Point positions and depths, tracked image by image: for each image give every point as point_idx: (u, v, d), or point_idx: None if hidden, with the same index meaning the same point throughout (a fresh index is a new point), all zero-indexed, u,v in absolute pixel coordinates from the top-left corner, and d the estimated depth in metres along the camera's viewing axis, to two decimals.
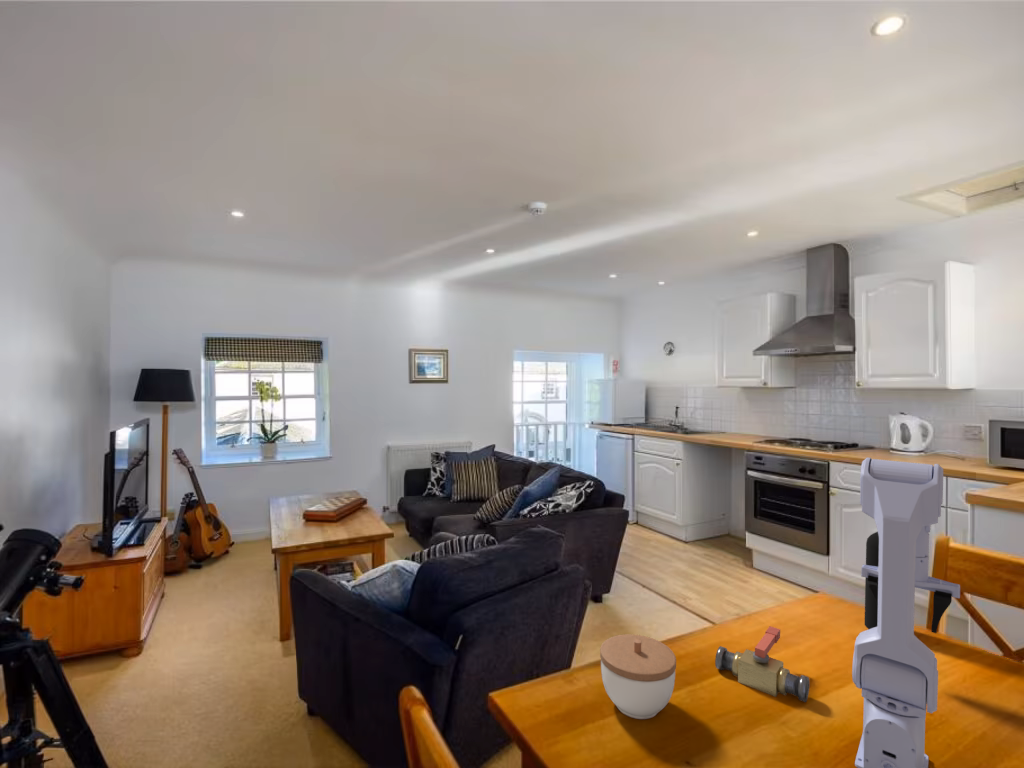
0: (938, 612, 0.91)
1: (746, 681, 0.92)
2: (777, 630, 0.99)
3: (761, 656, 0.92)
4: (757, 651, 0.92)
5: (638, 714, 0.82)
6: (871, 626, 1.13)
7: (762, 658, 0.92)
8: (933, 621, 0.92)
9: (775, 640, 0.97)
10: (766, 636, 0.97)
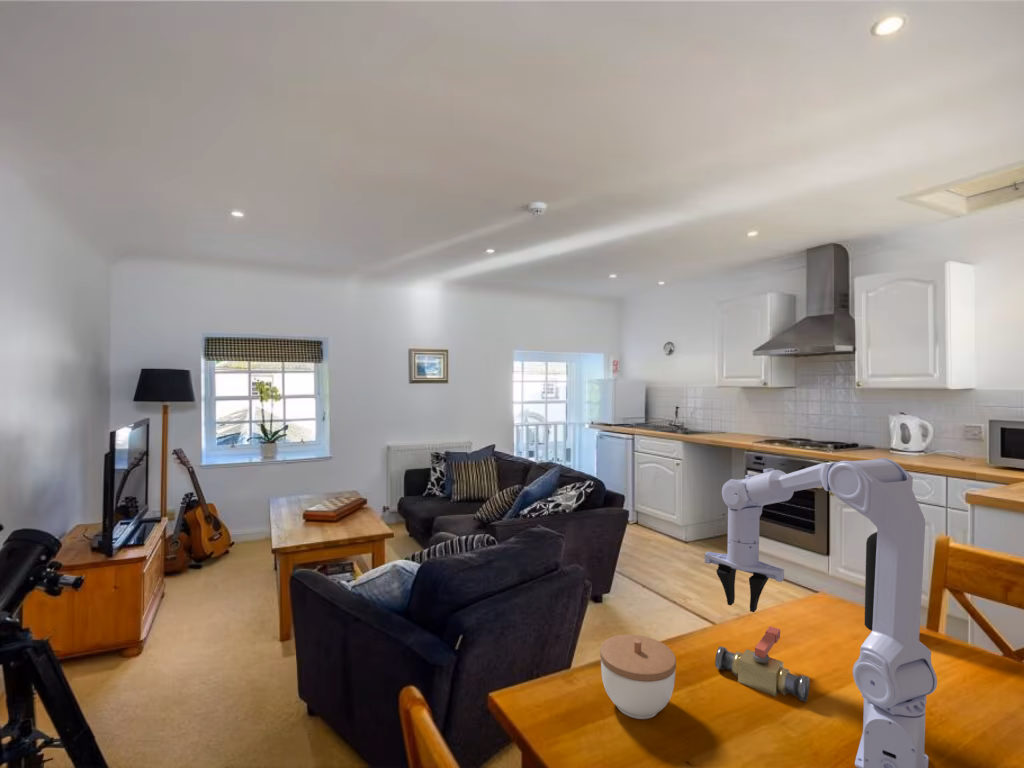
0: (754, 592, 0.98)
1: (746, 681, 0.92)
2: (777, 630, 0.99)
3: (761, 656, 0.92)
4: (757, 651, 0.92)
5: (638, 714, 0.82)
6: (871, 626, 1.13)
7: (762, 658, 0.92)
8: (750, 601, 0.98)
9: (775, 640, 0.97)
10: (766, 636, 0.97)
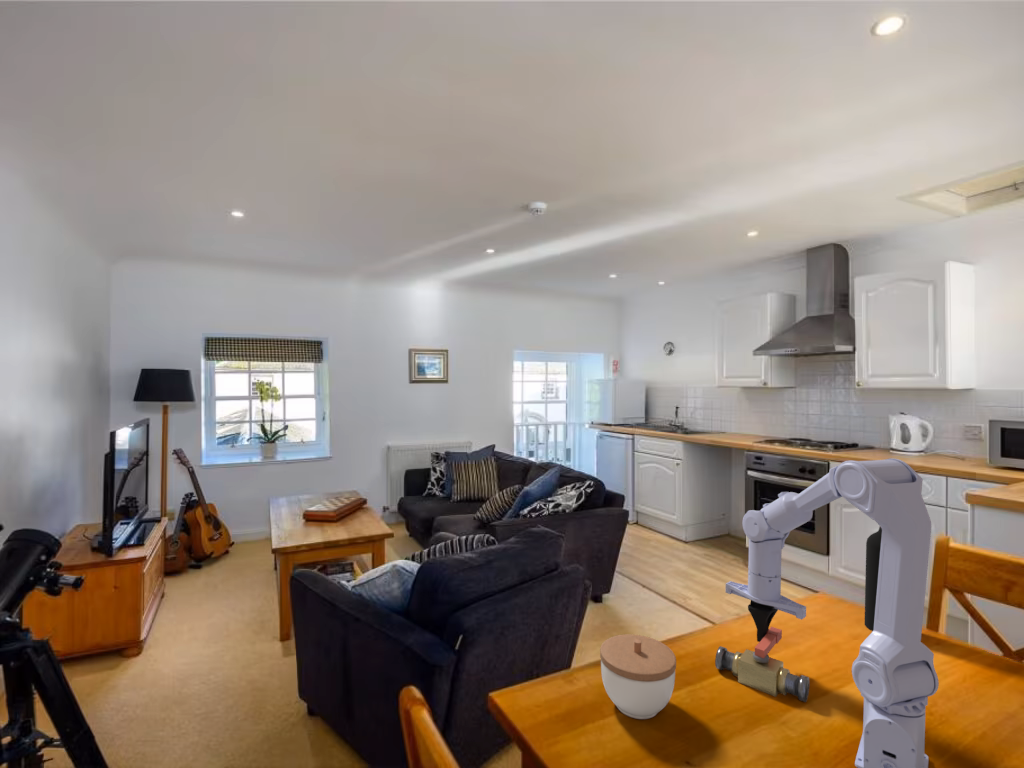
0: (760, 623, 0.97)
1: (746, 681, 0.92)
2: (778, 631, 0.99)
3: (761, 656, 0.92)
4: (757, 651, 0.92)
5: (638, 714, 0.82)
6: (871, 626, 1.13)
7: (762, 658, 0.92)
8: (757, 631, 0.98)
9: (776, 640, 0.97)
10: (767, 636, 0.96)
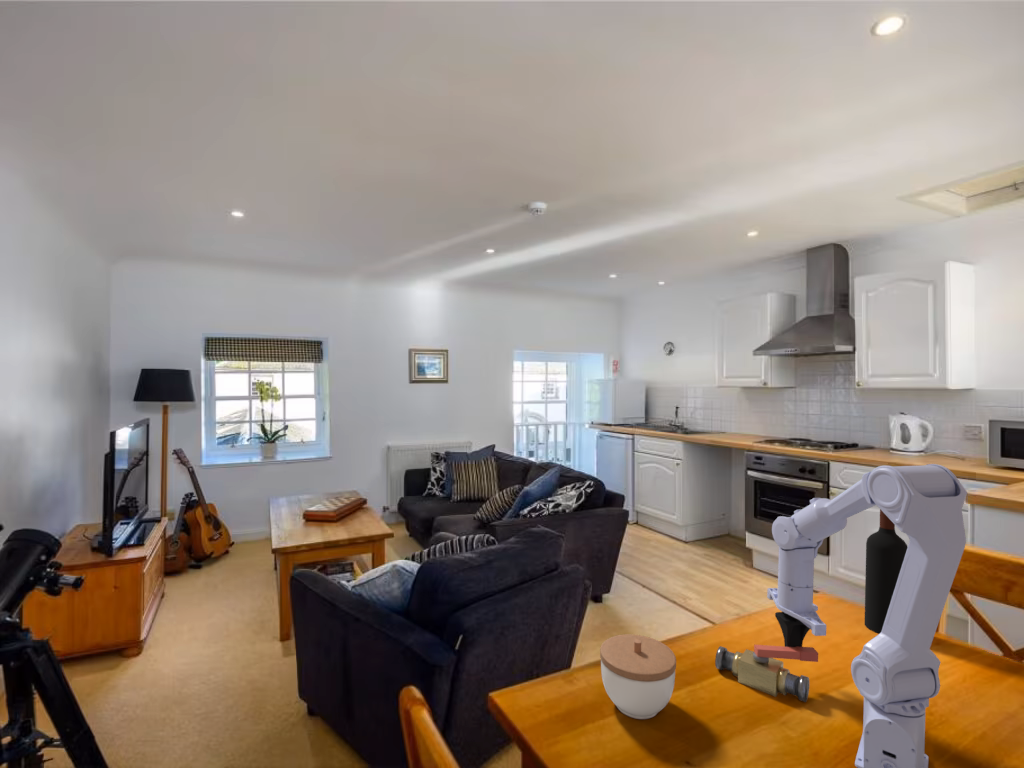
0: (785, 632, 0.93)
1: (746, 681, 0.92)
2: (812, 651, 0.91)
3: (756, 654, 0.92)
4: (755, 648, 0.93)
5: (638, 714, 0.82)
6: (871, 626, 1.13)
7: (756, 655, 0.92)
8: (784, 641, 0.94)
9: (799, 657, 0.91)
10: (788, 648, 0.92)
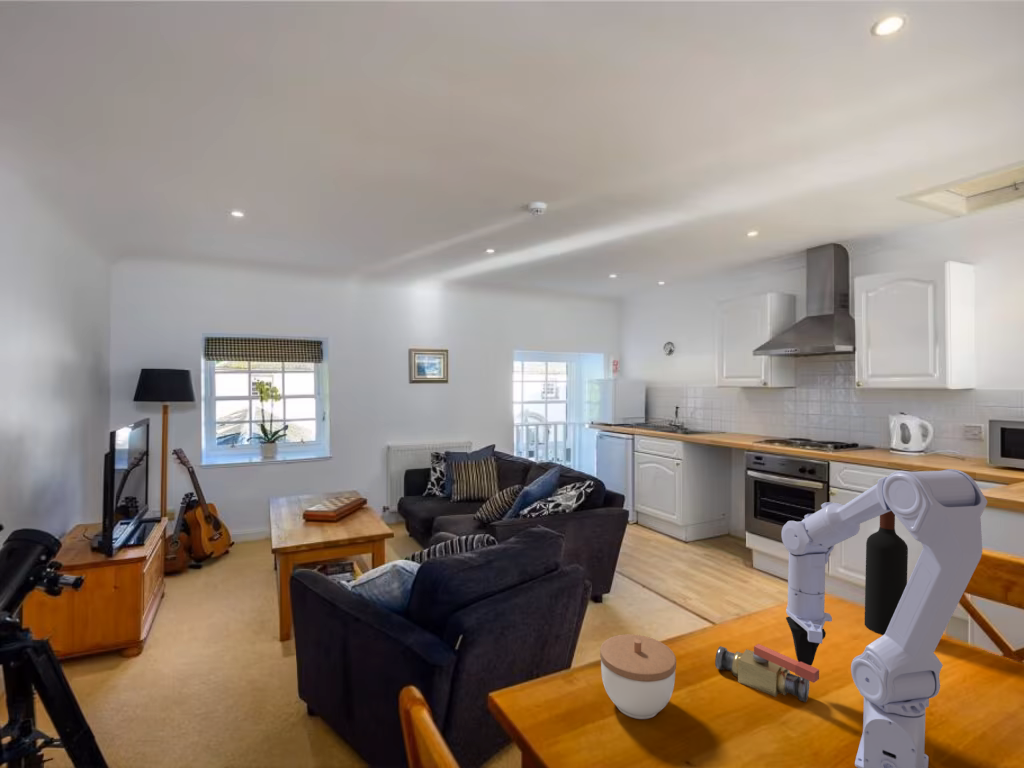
0: (794, 640, 0.91)
1: (746, 681, 0.92)
2: (809, 670, 0.85)
3: None
4: None
5: (638, 714, 0.82)
6: (871, 626, 1.13)
7: (754, 653, 0.93)
8: (795, 649, 0.91)
9: (795, 670, 0.87)
10: (789, 658, 0.89)
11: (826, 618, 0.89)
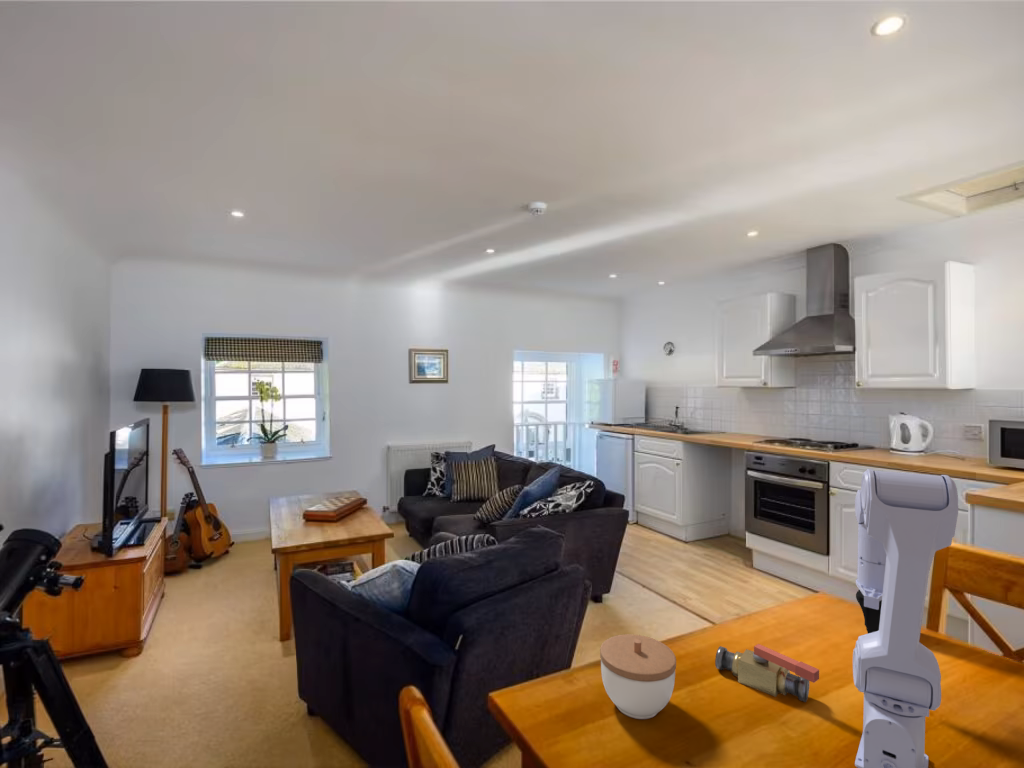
0: None
1: (746, 681, 0.92)
2: (809, 670, 0.85)
3: None
4: None
5: (638, 714, 0.82)
6: None
7: (754, 653, 0.93)
8: (865, 620, 0.91)
9: (795, 670, 0.87)
10: (789, 658, 0.89)
11: None
